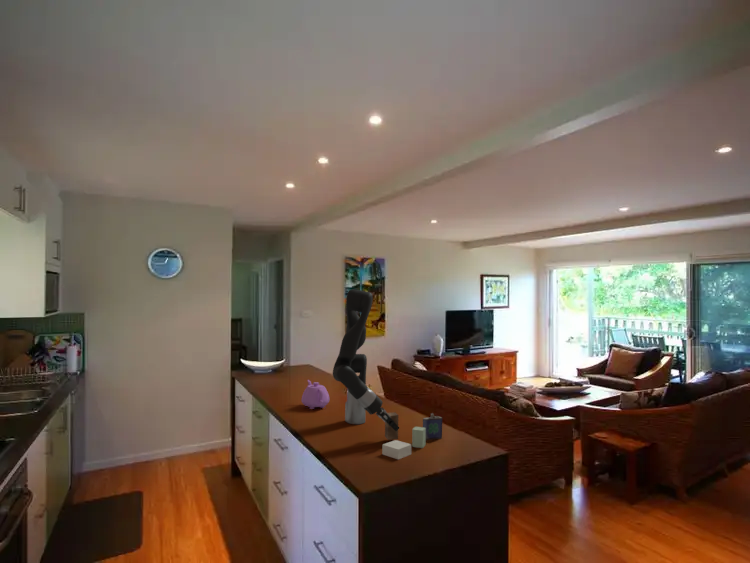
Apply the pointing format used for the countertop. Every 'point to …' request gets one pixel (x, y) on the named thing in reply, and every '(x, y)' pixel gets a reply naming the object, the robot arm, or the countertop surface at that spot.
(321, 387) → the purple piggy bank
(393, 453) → the base block
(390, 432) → the walnut pillar
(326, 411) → the countertop surface
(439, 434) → the flask
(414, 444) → the sage block
